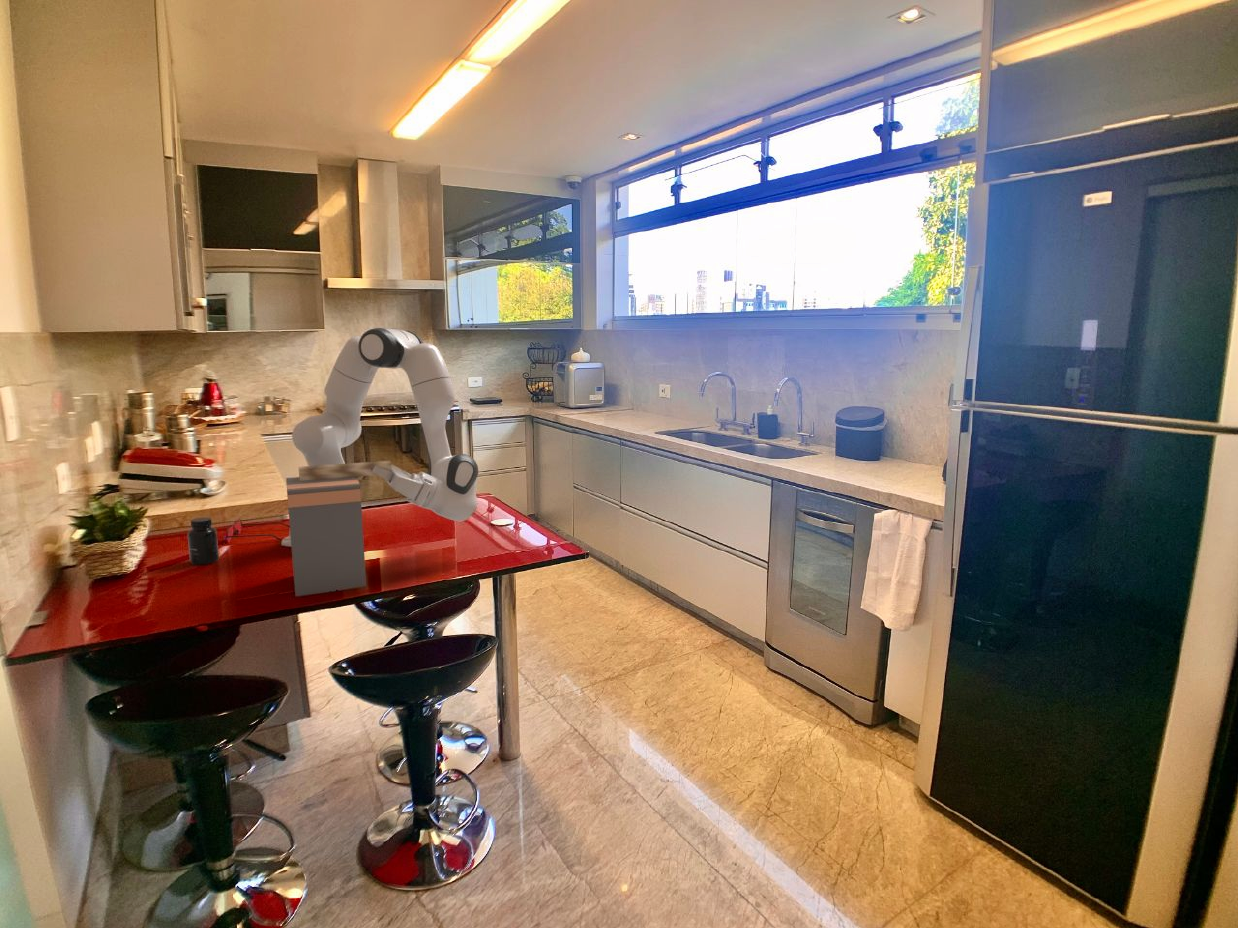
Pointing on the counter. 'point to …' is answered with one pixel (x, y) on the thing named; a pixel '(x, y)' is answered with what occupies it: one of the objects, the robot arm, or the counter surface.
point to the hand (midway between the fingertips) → (371, 466)
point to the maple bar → (341, 470)
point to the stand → (326, 534)
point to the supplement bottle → (202, 542)
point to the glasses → (238, 529)
